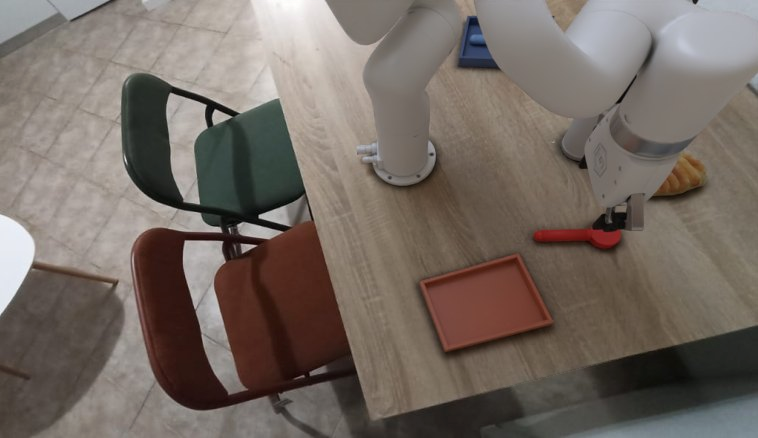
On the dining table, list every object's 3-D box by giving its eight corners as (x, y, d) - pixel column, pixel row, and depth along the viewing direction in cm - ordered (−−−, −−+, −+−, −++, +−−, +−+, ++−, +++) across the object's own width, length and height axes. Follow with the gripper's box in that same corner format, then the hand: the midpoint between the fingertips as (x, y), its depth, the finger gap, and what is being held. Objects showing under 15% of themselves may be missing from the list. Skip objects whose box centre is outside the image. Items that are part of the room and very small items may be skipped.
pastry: (650, 207, 75) (661, 197, 71) (623, 176, 78) (632, 165, 75) (705, 186, 74) (719, 174, 70) (676, 155, 77) (688, 143, 74)
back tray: (457, 66, 96) (458, 57, 94) (466, 24, 100) (467, 15, 98) (546, 69, 90) (549, 60, 88) (551, 25, 94) (554, 15, 92)
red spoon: (534, 249, 77) (536, 245, 75) (530, 226, 79) (533, 222, 77) (620, 248, 73) (625, 244, 72) (614, 224, 75) (618, 219, 73)
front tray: (444, 352, 74) (445, 350, 72) (419, 284, 79) (419, 281, 77) (549, 325, 71) (553, 322, 69) (515, 257, 77) (518, 252, 75)
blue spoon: (467, 50, 97) (468, 43, 95) (470, 35, 98) (471, 28, 97) (532, 52, 92) (535, 45, 91) (534, 36, 94) (537, 29, 92)
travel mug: (602, 162, 80) (655, 89, 62) (560, 161, 82) (601, 90, 64) (599, 133, 82) (650, 55, 65) (559, 132, 84) (598, 57, 67)
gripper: (596, 66, 52) (556, 147, 67) (632, 197, 45) (578, 254, 60) (673, 57, 50) (614, 142, 64) (723, 192, 43) (644, 253, 57)
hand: (597, 196), depth 62 cm, fingers open, 9 cm apart
